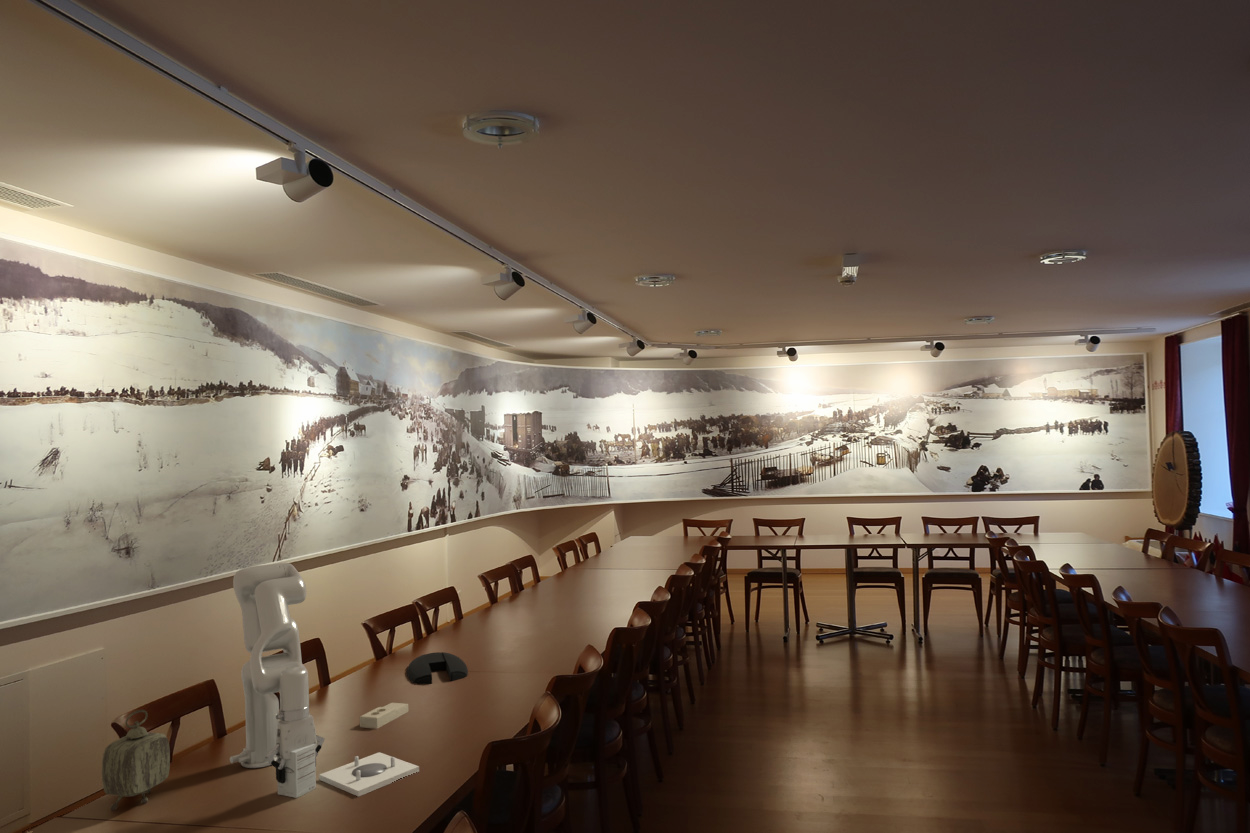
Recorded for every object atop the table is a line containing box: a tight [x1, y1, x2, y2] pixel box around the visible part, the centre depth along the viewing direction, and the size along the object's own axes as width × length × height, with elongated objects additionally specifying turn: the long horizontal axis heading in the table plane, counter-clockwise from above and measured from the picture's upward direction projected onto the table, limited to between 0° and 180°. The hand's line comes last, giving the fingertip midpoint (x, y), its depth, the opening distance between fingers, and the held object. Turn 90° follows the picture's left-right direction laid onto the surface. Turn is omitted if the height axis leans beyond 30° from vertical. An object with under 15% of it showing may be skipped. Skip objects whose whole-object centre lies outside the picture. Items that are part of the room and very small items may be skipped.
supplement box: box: [277, 744, 317, 799], centre depth 223 cm, size 7×7×13 cm
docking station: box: [406, 651, 469, 685], centre depth 343 cm, size 25×40×5 cm, turn 19°
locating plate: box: [318, 752, 420, 797], centre depth 232 cm, size 20×20×4 cm
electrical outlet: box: [359, 702, 409, 729], centre depth 282 cm, size 7×4×18 cm
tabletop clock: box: [101, 709, 171, 811], centre depth 220 cm, size 14×9×25 cm, turn 163°
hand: (296, 776), depth 223 cm, fingers closed on supplement box, 8 cm apart
